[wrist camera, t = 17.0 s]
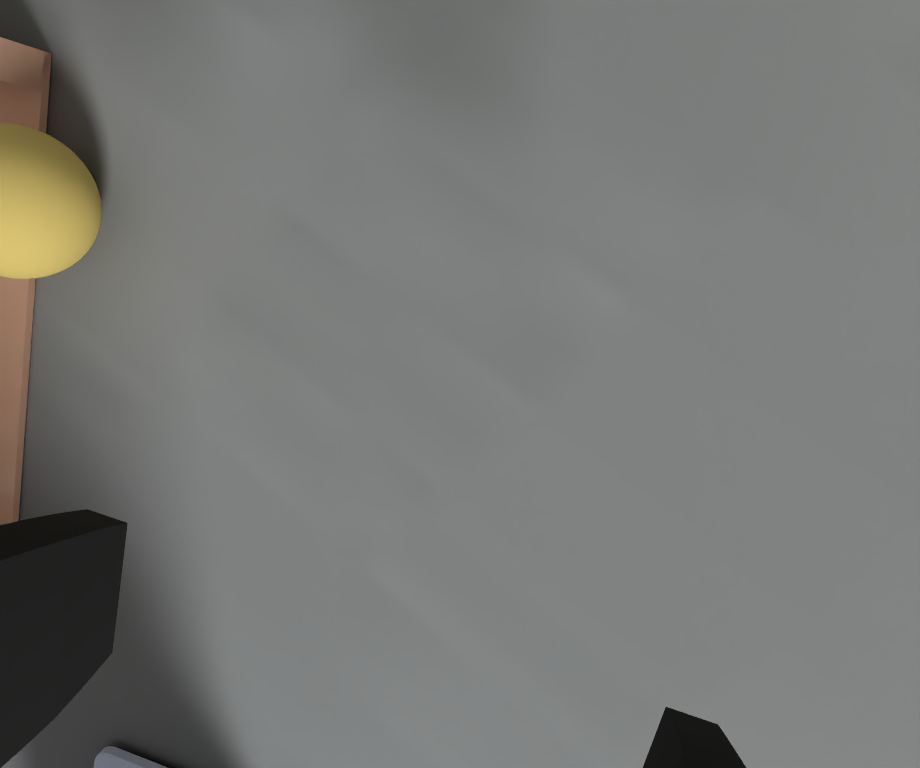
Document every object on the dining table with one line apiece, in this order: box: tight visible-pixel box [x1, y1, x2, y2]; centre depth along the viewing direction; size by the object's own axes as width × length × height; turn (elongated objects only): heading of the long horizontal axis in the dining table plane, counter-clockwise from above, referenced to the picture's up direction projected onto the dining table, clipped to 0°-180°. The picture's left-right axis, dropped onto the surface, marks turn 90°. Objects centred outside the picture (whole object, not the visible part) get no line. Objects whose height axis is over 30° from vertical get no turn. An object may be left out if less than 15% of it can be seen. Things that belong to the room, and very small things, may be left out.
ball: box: [0, 123, 102, 279], centre depth 17 cm, size 4×4×4 cm
